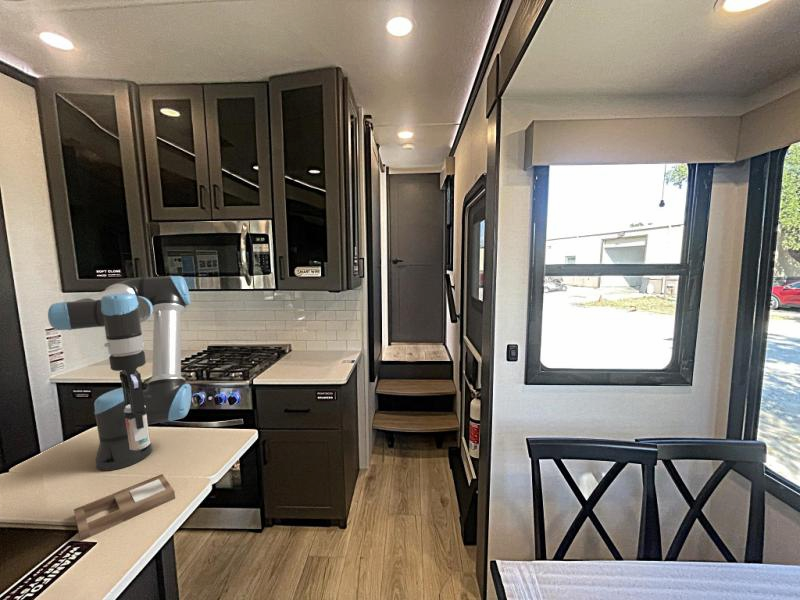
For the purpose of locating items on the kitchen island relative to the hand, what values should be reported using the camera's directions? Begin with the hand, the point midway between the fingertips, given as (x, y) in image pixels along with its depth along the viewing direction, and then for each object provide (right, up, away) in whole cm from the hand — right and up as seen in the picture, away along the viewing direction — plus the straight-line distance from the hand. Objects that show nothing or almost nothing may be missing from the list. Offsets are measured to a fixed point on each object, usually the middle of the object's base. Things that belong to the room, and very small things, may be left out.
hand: (138, 435), depth 100 cm
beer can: (0, -3, 0) cm, 4 cm away
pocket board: (-3, -19, -1) cm, 19 cm away
